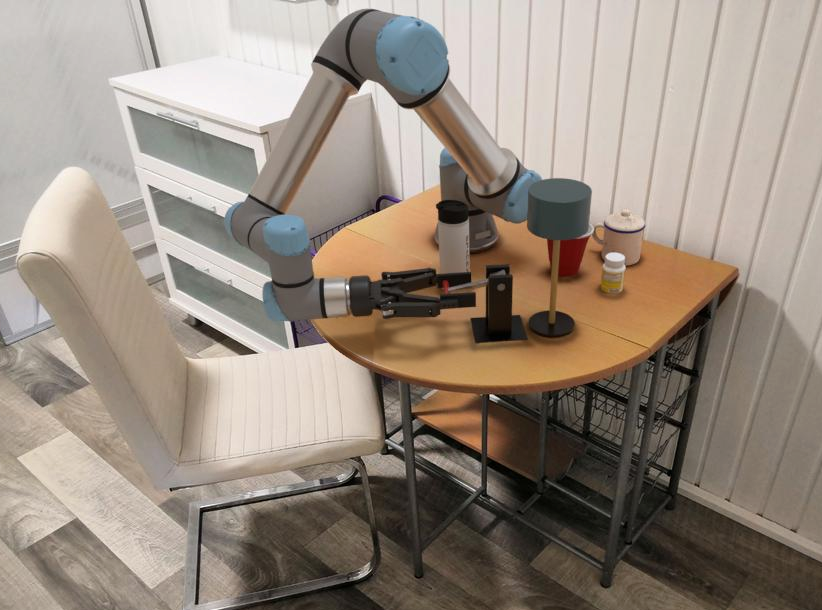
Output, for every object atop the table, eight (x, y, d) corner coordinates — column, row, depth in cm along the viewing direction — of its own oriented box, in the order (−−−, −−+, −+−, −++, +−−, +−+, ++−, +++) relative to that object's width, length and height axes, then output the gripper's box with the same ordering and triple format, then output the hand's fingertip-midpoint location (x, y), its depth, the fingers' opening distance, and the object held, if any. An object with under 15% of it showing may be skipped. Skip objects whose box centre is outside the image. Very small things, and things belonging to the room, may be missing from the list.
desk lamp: (519, 317, 149) (523, 179, 133) (572, 313, 150) (583, 176, 133) (528, 347, 140) (534, 204, 124) (585, 343, 141) (598, 200, 124)
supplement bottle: (609, 284, 160) (613, 249, 155) (627, 292, 157) (631, 256, 152) (595, 292, 157) (599, 256, 152) (613, 300, 154) (617, 264, 149)
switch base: (475, 348, 140) (474, 284, 132) (470, 322, 148) (469, 261, 140) (527, 344, 141) (529, 281, 133) (519, 319, 148) (521, 258, 140)
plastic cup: (598, 282, 161) (603, 231, 154) (551, 289, 158) (554, 238, 151) (577, 259, 169) (582, 211, 162) (533, 266, 167) (535, 217, 160)
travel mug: (434, 286, 160) (431, 199, 148) (462, 280, 162) (461, 194, 150) (445, 300, 155) (442, 211, 144) (474, 293, 157) (473, 205, 146)
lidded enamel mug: (646, 254, 171) (652, 207, 164) (632, 270, 164) (638, 222, 158) (597, 243, 176) (602, 196, 169) (582, 258, 170) (586, 211, 163)
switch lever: (446, 307, 136) (443, 296, 134) (443, 288, 142) (440, 278, 140) (510, 292, 135) (507, 281, 134) (504, 274, 141) (502, 263, 140)
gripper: (353, 287, 147) (468, 280, 148) (350, 343, 131) (479, 334, 132) (349, 254, 142) (467, 247, 144) (346, 307, 126) (479, 298, 128)
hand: (473, 289), depth 138 cm, fingers closed on switch lever, 7 cm apart
